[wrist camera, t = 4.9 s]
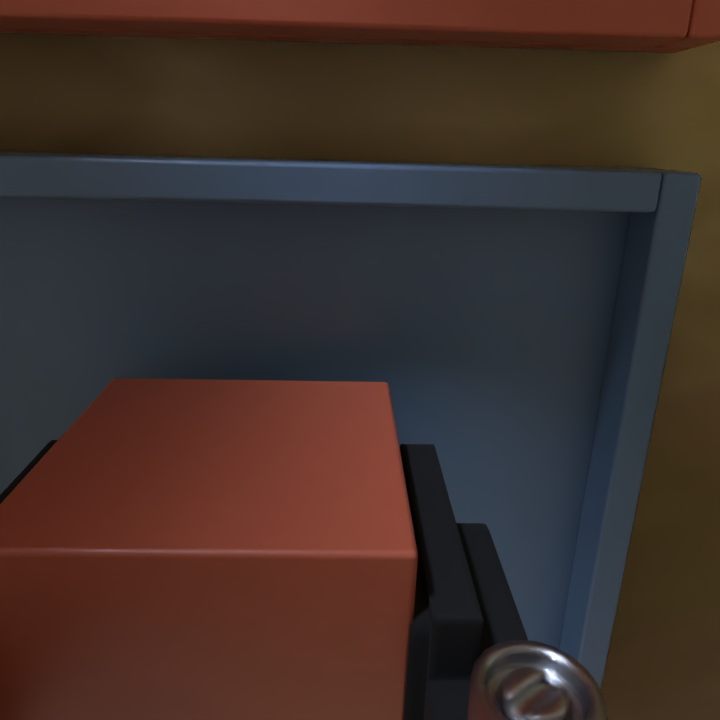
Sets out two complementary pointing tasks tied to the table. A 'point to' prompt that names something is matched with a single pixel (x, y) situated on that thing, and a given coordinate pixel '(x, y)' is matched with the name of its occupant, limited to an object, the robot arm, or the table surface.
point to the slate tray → (375, 324)
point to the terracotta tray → (387, 21)
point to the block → (212, 557)
